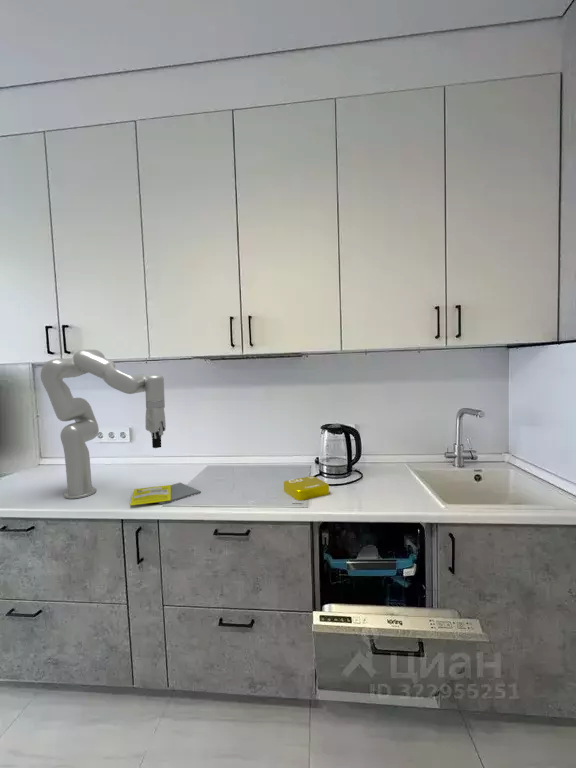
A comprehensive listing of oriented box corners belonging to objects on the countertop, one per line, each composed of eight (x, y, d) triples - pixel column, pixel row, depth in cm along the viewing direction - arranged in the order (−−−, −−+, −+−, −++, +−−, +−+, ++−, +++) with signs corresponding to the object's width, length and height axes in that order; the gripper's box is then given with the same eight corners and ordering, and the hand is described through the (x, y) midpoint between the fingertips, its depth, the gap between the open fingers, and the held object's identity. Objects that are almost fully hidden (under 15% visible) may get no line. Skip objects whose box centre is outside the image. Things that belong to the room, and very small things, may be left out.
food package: (134, 490, 176) (129, 506, 157) (134, 487, 176) (129, 503, 157) (170, 486, 180) (170, 501, 161) (170, 483, 180) (170, 498, 161)
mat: (142, 494, 173) (142, 493, 172) (180, 484, 185) (180, 482, 185) (161, 505, 159) (160, 503, 159) (200, 492, 172) (200, 491, 172)
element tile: (298, 502, 157) (297, 490, 157) (282, 491, 171) (281, 480, 170) (331, 495, 163) (330, 483, 163) (313, 484, 177) (312, 474, 177)
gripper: (139, 403, 172) (140, 446, 174) (154, 407, 161) (156, 452, 163) (156, 402, 177) (157, 443, 179) (171, 405, 166) (173, 448, 168)
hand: (156, 447), depth 171 cm, fingers closed
